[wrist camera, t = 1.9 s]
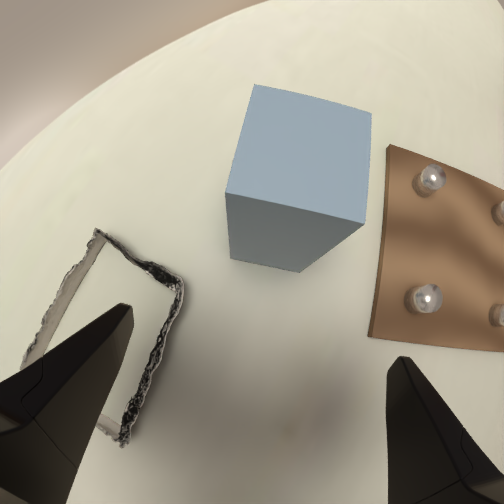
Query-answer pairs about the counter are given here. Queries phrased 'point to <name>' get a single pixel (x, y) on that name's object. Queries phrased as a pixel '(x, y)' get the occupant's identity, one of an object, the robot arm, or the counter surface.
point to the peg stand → (439, 257)
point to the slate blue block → (296, 178)
